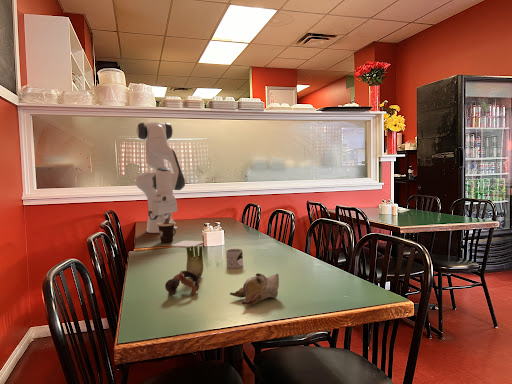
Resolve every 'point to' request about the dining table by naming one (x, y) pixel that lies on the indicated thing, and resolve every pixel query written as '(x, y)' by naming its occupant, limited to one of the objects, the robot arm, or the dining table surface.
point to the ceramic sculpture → (258, 289)
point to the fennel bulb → (195, 261)
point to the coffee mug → (166, 233)
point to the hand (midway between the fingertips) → (166, 221)
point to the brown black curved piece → (174, 283)
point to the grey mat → (187, 244)
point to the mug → (234, 258)
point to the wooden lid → (166, 223)
